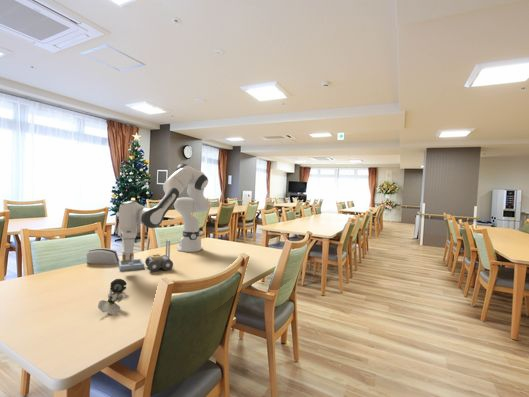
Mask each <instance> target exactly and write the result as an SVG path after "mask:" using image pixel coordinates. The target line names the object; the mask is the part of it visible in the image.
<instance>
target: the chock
mask: <svg viewBox="0 0 529 397" xmlns="http://www.w3.org/2000/svg"><path fill="white" fill-rule="evenodd" d="M121 261H123V263H128V262H131V261H132V253H131V254H130V259H129V260H126V254H125V252H124V251H122V258H121Z"/></svg>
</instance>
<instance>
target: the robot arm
mask: <svg viewBox="0 0 529 397" xmlns="http://www.w3.org/2000/svg"><path fill="white" fill-rule="evenodd" d="M208 183H209V178H208V177H207V176H206V175H205V173H204V172H203V171H200V170H198V169H196V168H194V167H192V166H190V165H189V164H187V163H180V164H178V166H176V168H175V170H174V172H173V173H172V174H171V175H170V176H169V177H168V178H167V179H166V180H165V181H164V183H163V184H162V189H163V192H164V196H163V197H162V198H161V200H160V201H159V202H158V203H157V204H156V205H155V206H154V207H148V206H144V205H142V204H140V203H138V202H137V201H136V200H128V201H127V200H126V201H123V202H121V204H119V208H118V209H119V210H118V225H117V228H118V230H117V236H119V237H120V239H121V240H122V241H121V242H122V248H123V249H122V250H123V252H125V254H126V260H129V259H130V254H131V253H134V247H135V241H136V238H137V235H138V225H143V226H145V227H147V229H148V228H149V229H155V228H157V227H159V226H160V225H161V224H162V222H163V221H164V219H165V216H166V214H167V212H168V211H169V210H170V209H171V208H172V206H174V210H175V211H176V212H178V213H179V214H180V215H181V218H182V221H183V230H182V236H181V238H180V239H179V240H177V245H176V249H177V251H178V252H186V253H187V252H188V253H189V252H190V253H193V252H194V253H195V252H200V251H201V250H203V249H204V247H203V246H202V238H201V237H200V235H201V234H200V220H199V219H198V218H196V217H195V216H193V215H192V213H205V212H208V211H209V210H210V207H211V202H210V201H209V199H208V198H206V197H205V196H204V193H205V192H204V190H205V188H206V187H207V185H208ZM186 188H187V189H186ZM185 189H186V190H187V191H186V193H187V195H188V196H189V197H187V196H185V197H184V196H182V197H180V195H181V193H183V191H184V190H185Z"/></svg>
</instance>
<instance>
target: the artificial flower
mask: <svg viewBox="0 0 529 397" xmlns="http://www.w3.org/2000/svg"><path fill="white" fill-rule="evenodd" d="M126 289H127V281H125V279H122V278H116V279H113V280H112V281H111V282H110V287H109V293H108V295H107V300H104V299H103V300H100V301H99V302H98V304H97V309H99V311H101V312H102V313H107V312H108V313H109V314H110V315H111V316H114V315H117V314H118V313H119V312H120V310H121V306H120V305H118V304H117V303H120V302H122V301H123V299H124V298H126V295H125V293H123V292H124V291H126ZM119 293H120V294H119ZM118 294H119V295H118ZM116 302H117V303H116Z"/></svg>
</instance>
